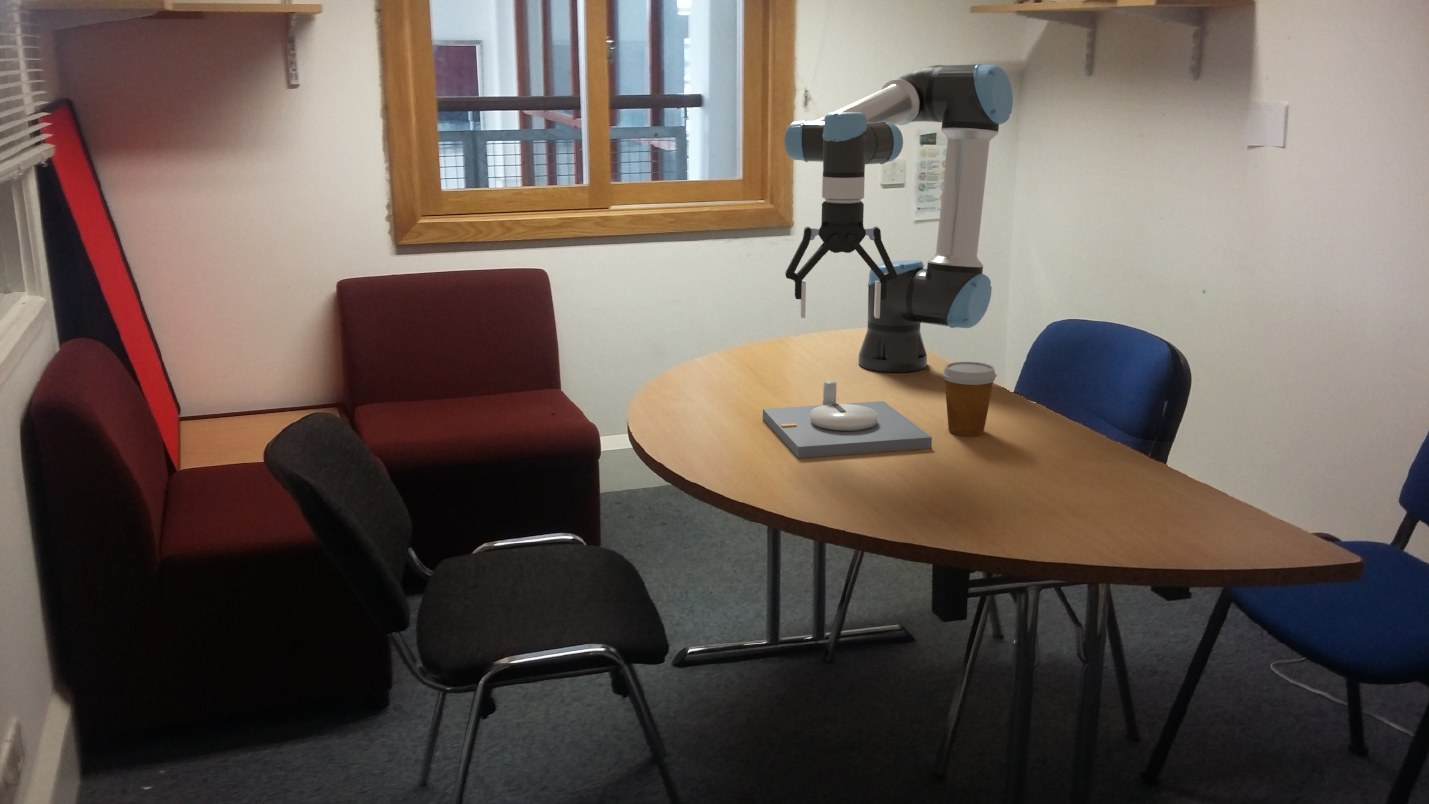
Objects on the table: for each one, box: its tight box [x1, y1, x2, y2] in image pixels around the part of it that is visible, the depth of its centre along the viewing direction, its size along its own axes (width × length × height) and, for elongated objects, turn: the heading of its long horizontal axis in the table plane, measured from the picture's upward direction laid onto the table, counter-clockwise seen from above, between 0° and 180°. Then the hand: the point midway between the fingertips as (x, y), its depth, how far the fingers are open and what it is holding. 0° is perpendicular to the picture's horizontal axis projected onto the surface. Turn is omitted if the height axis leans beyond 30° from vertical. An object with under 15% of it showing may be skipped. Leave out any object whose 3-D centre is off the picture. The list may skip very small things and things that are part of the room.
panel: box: [762, 400, 933, 459], centre depth 210 cm, size 24×24×2 cm
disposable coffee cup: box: [941, 361, 997, 437], centre depth 210 cm, size 10×10×12 cm
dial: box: [810, 380, 878, 431], centre depth 211 cm, size 16×12×5 cm
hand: (839, 317), depth 215 cm, fingers open, 13 cm apart
